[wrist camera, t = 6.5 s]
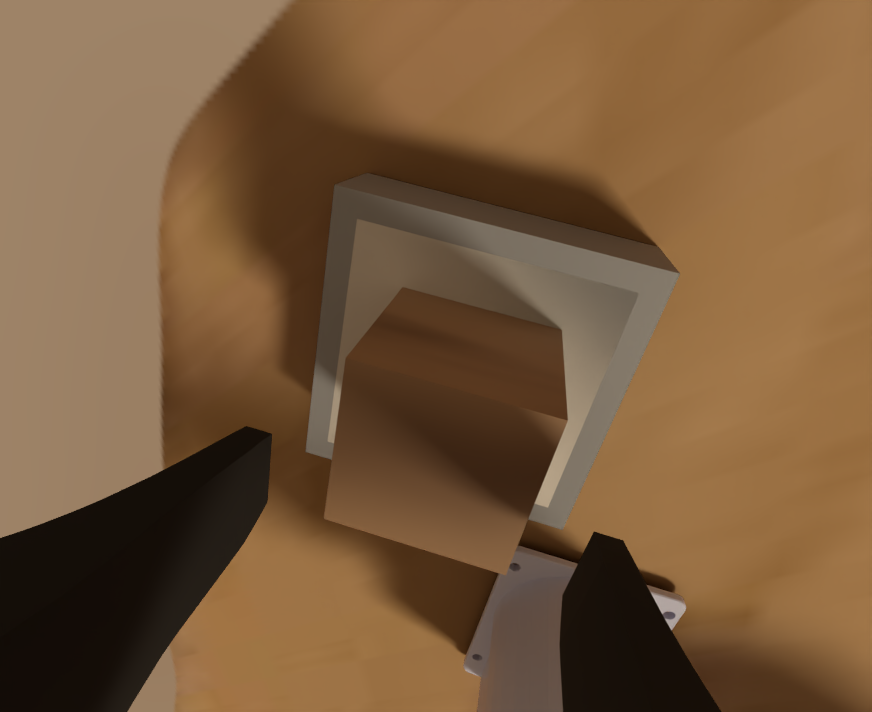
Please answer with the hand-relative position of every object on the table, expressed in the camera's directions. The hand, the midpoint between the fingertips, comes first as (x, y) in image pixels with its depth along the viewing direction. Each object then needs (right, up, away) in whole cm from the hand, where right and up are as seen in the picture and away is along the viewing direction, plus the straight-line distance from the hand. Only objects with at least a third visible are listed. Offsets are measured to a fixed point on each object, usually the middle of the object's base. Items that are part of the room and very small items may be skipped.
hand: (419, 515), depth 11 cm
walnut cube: (+1, +3, +5) cm, 6 cm away
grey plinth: (+2, +4, +8) cm, 9 cm away
